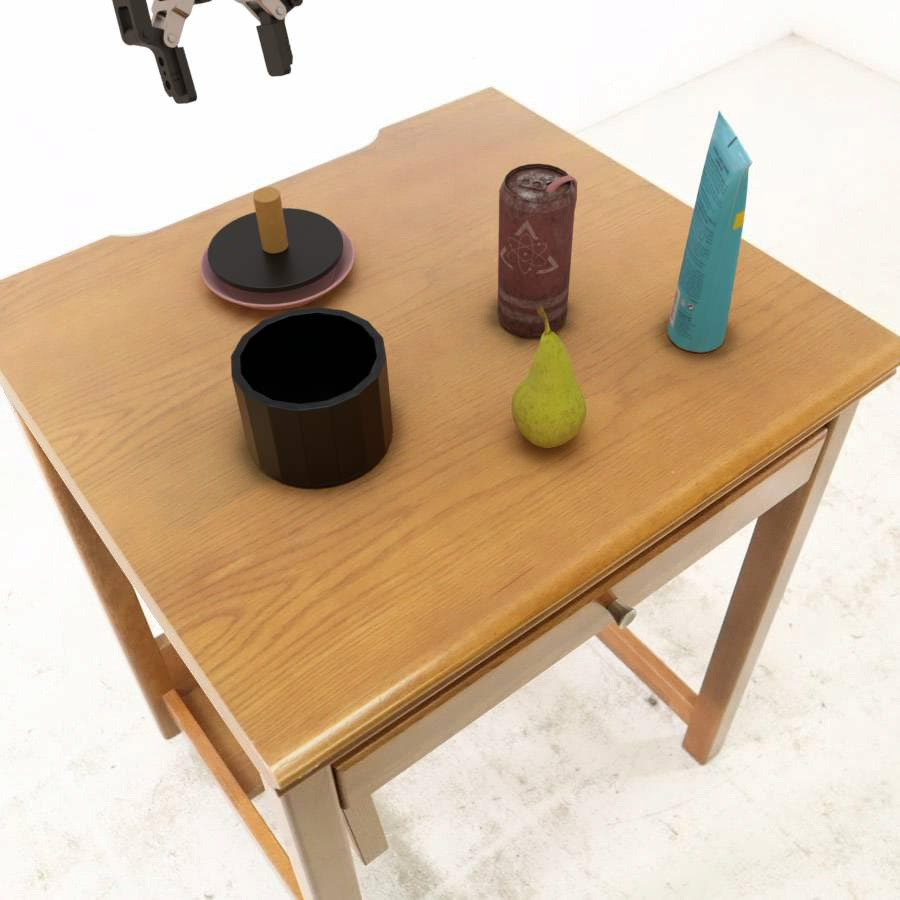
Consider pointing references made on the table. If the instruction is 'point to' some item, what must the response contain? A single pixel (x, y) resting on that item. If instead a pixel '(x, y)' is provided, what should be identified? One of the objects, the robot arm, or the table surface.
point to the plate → (287, 297)
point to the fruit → (549, 395)
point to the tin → (313, 396)
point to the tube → (712, 245)
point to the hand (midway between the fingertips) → (235, 88)
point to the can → (535, 247)
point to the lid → (274, 247)
